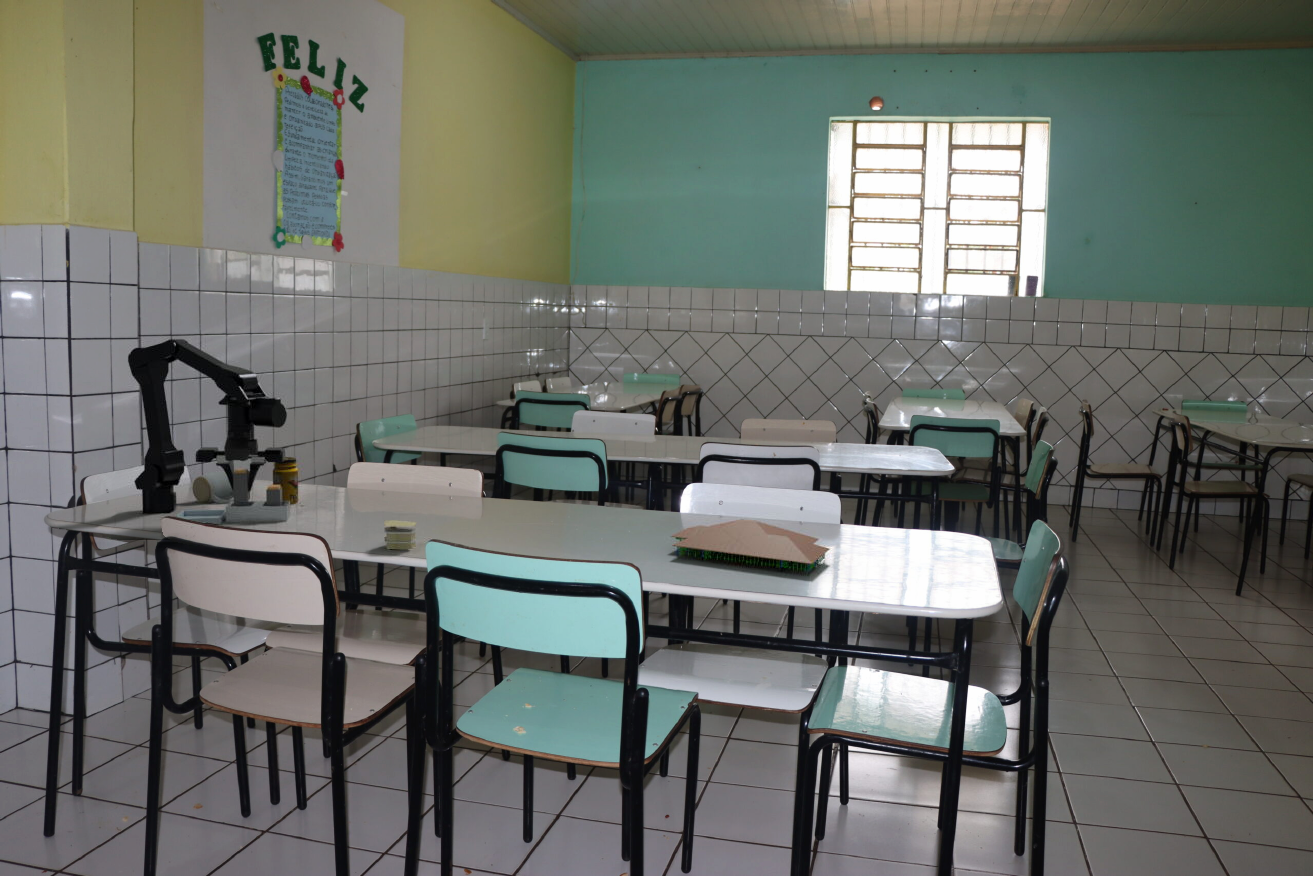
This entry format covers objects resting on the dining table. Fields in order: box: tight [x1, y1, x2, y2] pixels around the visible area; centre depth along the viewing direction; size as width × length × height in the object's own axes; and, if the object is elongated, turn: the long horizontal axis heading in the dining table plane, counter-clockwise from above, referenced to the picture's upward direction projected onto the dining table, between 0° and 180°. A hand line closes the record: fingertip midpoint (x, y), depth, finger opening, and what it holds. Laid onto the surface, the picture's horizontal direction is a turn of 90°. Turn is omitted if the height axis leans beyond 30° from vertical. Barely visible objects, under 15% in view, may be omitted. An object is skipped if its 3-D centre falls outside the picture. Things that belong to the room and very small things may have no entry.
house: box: [670, 518, 830, 573], centre depth 213 cm, size 23×33×8 cm
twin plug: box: [265, 484, 282, 506], centre depth 232 cm, size 3×4×7 cm
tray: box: [176, 509, 226, 525], centre depth 228 cm, size 10×10×2 cm
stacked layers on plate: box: [384, 519, 418, 550], centre depth 210 cm, size 10×9×6 cm
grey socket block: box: [225, 500, 291, 523], centre depth 231 cm, size 13×7×4 cm, turn 104°
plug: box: [233, 468, 251, 502], centre depth 229 cm, size 3×4×7 cm
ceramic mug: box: [191, 470, 234, 505], centre depth 250 cm, size 11×8×8 cm
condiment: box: [272, 456, 305, 507], centre depth 250 cm, size 7×8×12 cm
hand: (241, 491), depth 230 cm, fingers closed on plug, 3 cm apart
